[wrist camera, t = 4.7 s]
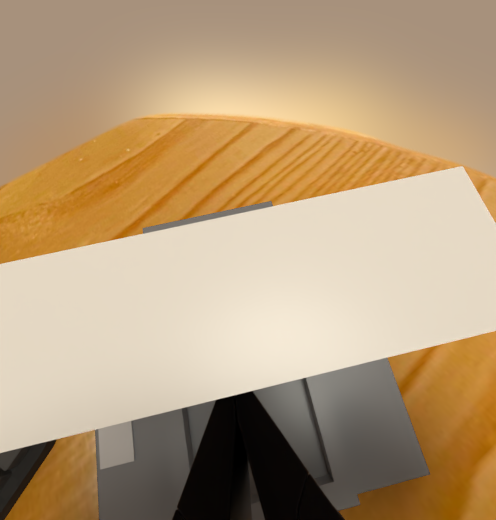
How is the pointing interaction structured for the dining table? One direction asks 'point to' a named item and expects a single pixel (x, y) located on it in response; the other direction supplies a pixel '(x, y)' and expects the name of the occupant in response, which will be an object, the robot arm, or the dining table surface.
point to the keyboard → (19, 472)
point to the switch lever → (241, 304)
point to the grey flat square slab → (290, 424)
